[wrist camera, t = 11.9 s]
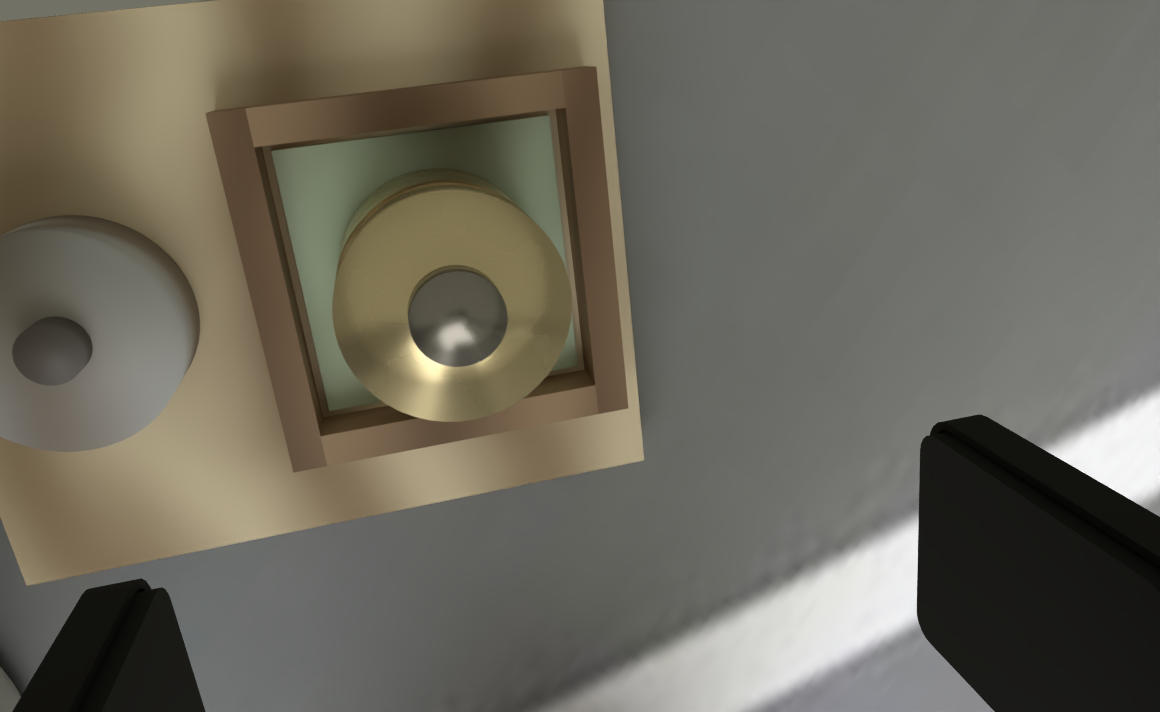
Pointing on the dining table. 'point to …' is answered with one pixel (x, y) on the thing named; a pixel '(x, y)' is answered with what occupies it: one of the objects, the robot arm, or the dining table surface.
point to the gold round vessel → (448, 297)
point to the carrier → (276, 263)
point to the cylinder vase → (7, 693)
